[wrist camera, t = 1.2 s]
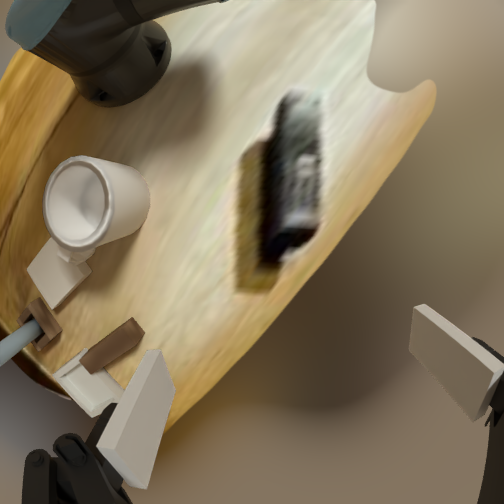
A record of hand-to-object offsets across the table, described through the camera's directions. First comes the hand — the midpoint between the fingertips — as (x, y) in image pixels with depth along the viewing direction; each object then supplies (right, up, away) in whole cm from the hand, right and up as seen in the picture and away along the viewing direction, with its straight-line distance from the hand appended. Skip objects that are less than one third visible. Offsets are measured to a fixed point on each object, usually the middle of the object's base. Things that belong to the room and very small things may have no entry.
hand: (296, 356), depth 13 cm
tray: (-32, -19, +28) cm, 46 cm away
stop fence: (-24, -9, +26) cm, 36 cm away
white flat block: (-32, +2, +24) cm, 40 cm away
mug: (-21, +11, +22) cm, 33 cm away
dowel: (-40, -8, +25) cm, 48 cm away
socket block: (-40, -8, +25) cm, 48 cm away
